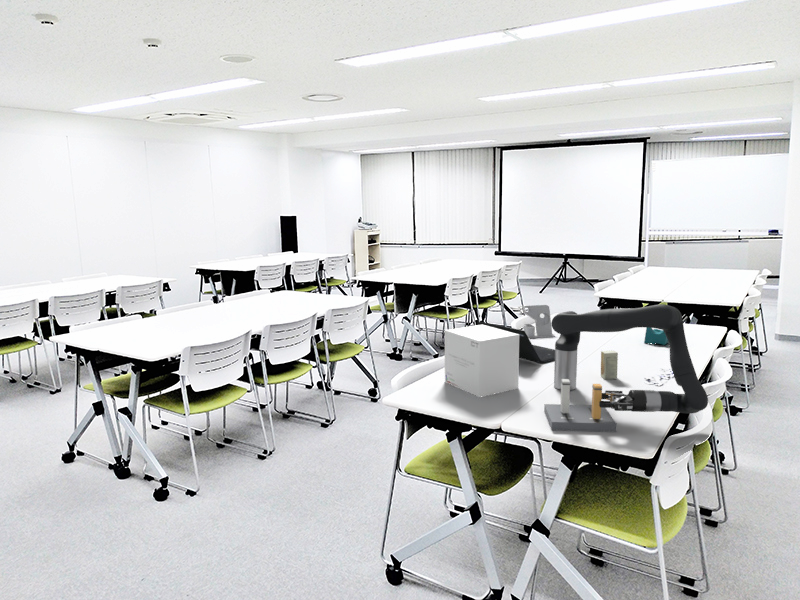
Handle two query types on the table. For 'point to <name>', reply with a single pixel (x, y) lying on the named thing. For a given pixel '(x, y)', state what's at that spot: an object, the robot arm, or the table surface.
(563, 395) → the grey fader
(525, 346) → the laptop
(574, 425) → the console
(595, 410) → the amber fader
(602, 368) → the skincare box
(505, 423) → the table surface
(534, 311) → the phone holder
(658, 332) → the teal cradle stand
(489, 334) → the cube
